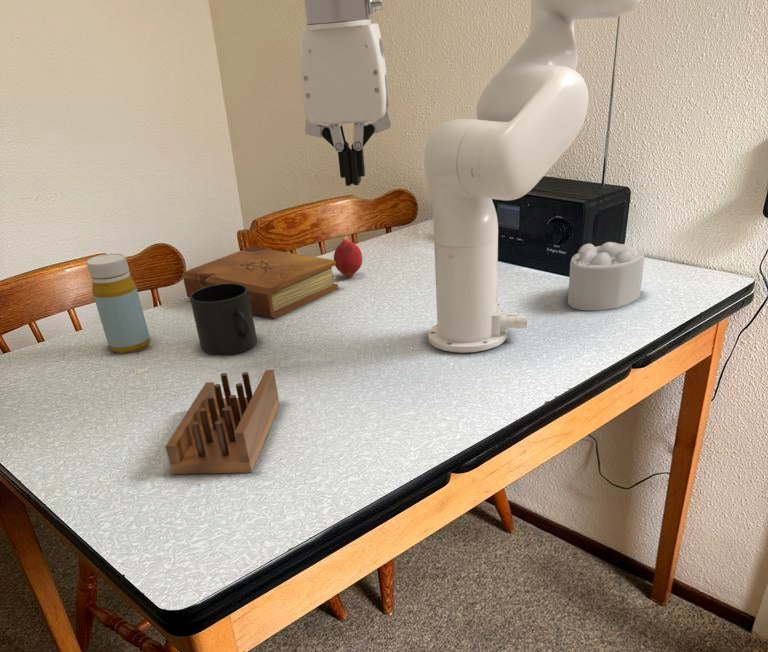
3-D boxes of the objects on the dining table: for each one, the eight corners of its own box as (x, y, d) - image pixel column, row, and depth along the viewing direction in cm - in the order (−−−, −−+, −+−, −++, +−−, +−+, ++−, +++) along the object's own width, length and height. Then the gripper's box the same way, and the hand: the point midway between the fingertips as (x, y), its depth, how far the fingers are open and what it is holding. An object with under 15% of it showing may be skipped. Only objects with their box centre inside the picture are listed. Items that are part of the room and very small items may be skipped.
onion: (363, 280, 151) (359, 239, 146) (334, 282, 151) (330, 241, 146) (364, 271, 155) (360, 231, 151) (336, 273, 156) (332, 233, 151)
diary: (188, 302, 148) (181, 272, 145) (256, 274, 160) (251, 246, 157) (271, 320, 136) (266, 288, 133) (338, 288, 148) (335, 259, 144)
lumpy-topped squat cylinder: (648, 294, 132) (654, 243, 127) (602, 315, 125) (607, 263, 120) (598, 283, 138) (602, 234, 134) (552, 302, 132) (555, 252, 127)
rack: (280, 405, 107) (273, 366, 103) (251, 472, 92) (242, 429, 88) (211, 408, 108) (202, 369, 104) (172, 474, 93) (160, 431, 90)
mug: (229, 365, 120) (217, 310, 115) (191, 347, 128) (178, 294, 123) (277, 346, 125) (268, 292, 120) (237, 330, 133) (227, 279, 128)
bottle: (129, 356, 126) (103, 267, 118) (101, 350, 130) (74, 263, 121) (159, 341, 131) (136, 254, 123) (131, 336, 134) (108, 251, 126)
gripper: (404, 5, 88) (413, 173, 99) (280, 17, 90) (302, 181, 101) (399, 7, 82) (409, 186, 93) (266, 19, 84) (290, 193, 95)
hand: (353, 183), depth 97 cm, fingers closed
